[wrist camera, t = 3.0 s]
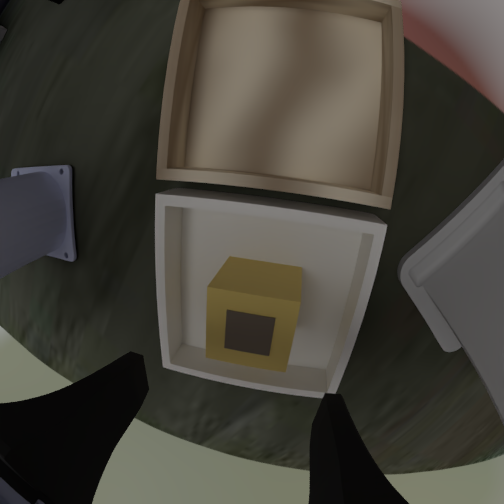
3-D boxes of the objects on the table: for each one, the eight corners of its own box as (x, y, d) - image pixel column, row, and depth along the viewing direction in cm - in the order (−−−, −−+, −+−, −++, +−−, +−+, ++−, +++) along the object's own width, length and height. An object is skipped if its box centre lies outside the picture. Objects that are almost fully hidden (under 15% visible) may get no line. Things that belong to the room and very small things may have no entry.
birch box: (178, 175, 17) (156, 179, 14) (200, 6, 13) (183, -14, 10) (375, 200, 16) (390, 209, 13) (388, 21, 12) (400, 1, 9)
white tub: (178, 344, 22) (163, 367, 19) (177, 187, 18) (155, 193, 15) (331, 371, 20) (332, 399, 17) (373, 213, 16) (387, 224, 13)
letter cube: (225, 317, 19) (205, 358, 15) (229, 256, 18) (206, 287, 14) (290, 328, 19) (285, 373, 14) (302, 267, 17) (300, 303, 13)
